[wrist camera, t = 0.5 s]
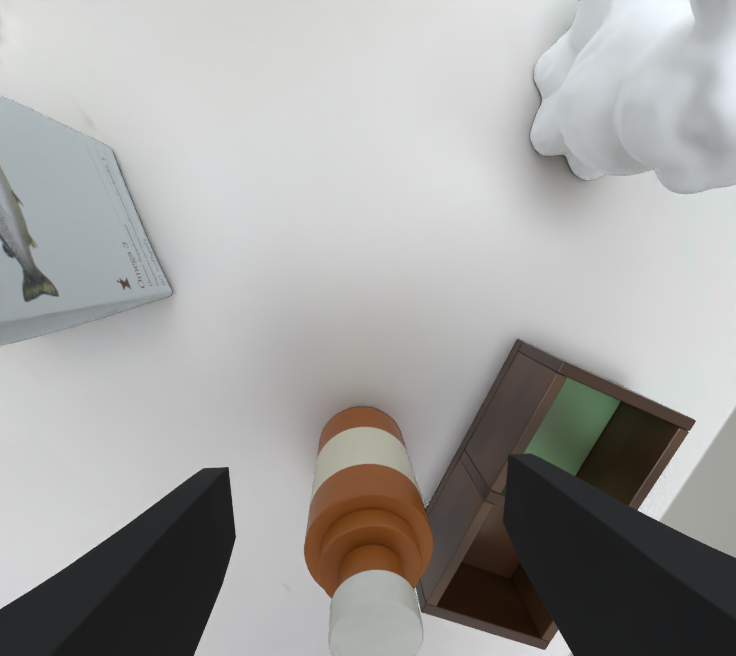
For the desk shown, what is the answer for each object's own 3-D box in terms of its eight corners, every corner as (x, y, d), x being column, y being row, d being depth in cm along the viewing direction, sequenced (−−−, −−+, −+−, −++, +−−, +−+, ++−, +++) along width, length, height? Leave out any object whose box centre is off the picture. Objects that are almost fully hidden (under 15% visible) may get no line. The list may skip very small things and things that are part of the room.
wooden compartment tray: (509, 579, 22) (545, 650, 18) (406, 545, 21) (420, 612, 17) (626, 387, 20) (697, 421, 16) (517, 338, 19) (563, 360, 15)
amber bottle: (398, 483, 20) (448, 704, 10) (316, 480, 20) (286, 706, 10) (407, 408, 19) (472, 570, 9) (321, 403, 19) (294, 567, 9)
